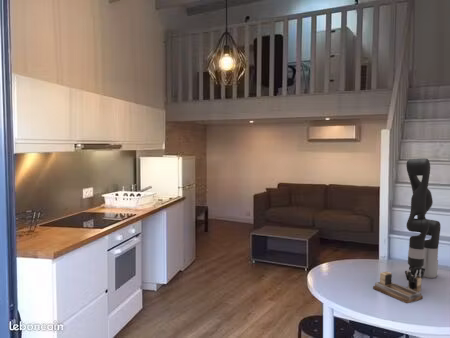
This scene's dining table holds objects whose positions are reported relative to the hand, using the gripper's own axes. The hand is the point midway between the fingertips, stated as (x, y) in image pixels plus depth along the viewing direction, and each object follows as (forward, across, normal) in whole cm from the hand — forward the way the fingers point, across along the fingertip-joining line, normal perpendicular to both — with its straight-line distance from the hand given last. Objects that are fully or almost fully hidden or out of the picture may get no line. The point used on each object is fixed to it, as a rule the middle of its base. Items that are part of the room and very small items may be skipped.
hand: (414, 287), depth 199 cm
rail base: (+1, +13, 0) cm, 13 cm away
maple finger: (+1, 0, 0) cm, 1 cm away
